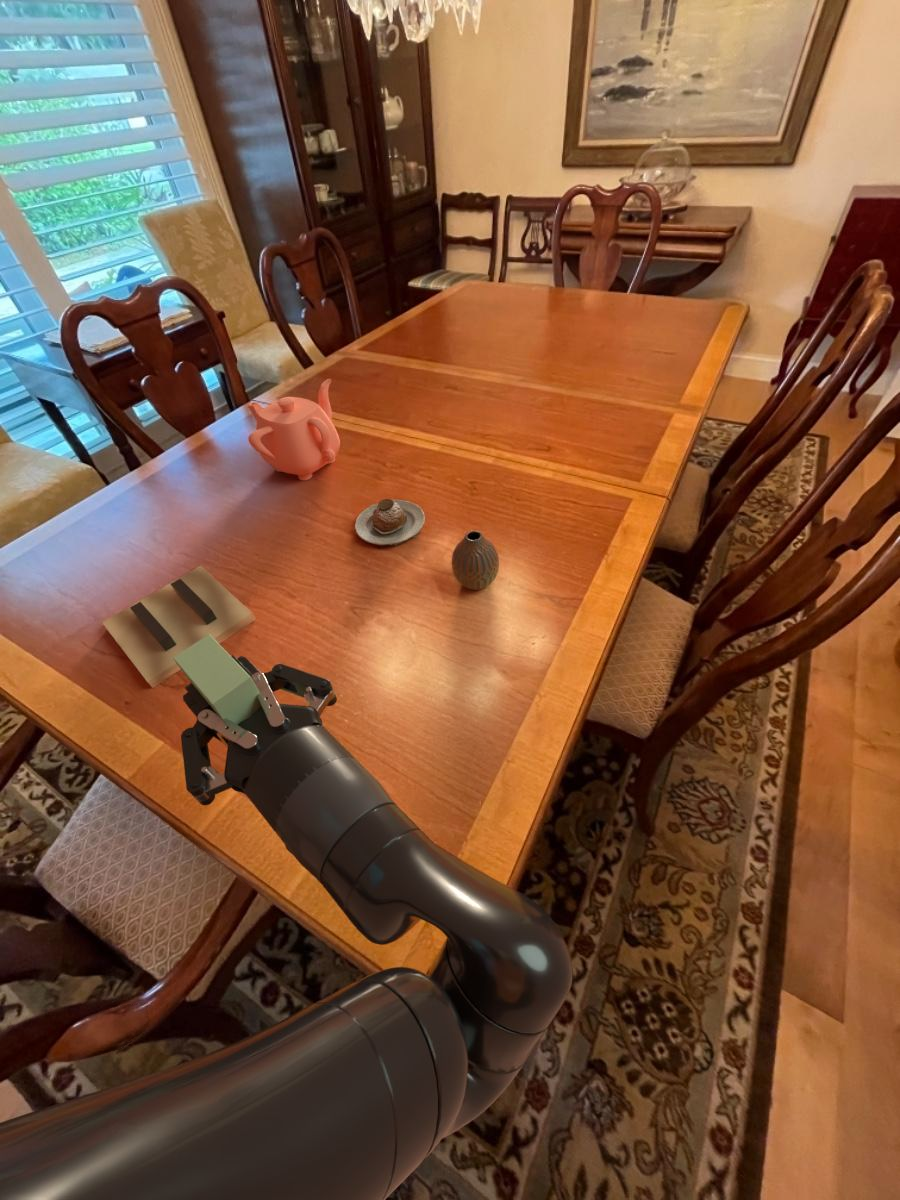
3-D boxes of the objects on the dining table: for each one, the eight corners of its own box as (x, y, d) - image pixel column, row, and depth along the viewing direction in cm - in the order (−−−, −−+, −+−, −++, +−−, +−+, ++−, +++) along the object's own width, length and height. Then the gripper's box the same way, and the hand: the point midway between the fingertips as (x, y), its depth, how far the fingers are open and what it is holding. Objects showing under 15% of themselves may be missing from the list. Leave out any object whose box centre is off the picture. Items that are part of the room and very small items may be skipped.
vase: (500, 595, 78) (499, 550, 72) (453, 598, 78) (448, 553, 72) (498, 563, 83) (497, 518, 76) (453, 566, 83) (449, 521, 77)
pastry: (414, 498, 96) (411, 476, 93) (434, 537, 88) (431, 515, 85) (350, 515, 94) (344, 493, 91) (364, 557, 86) (358, 534, 83)
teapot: (265, 451, 112) (242, 388, 103) (344, 435, 114) (329, 373, 105) (265, 493, 101) (240, 427, 92) (354, 475, 103) (338, 409, 94)
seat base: (152, 688, 71) (139, 672, 69) (107, 629, 80) (94, 613, 77) (255, 619, 78) (247, 603, 76) (204, 572, 87) (195, 555, 84)
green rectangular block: (258, 769, 50) (211, 704, 42) (221, 725, 53) (172, 657, 45) (290, 744, 51) (250, 676, 43) (252, 702, 55) (209, 633, 47)
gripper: (387, 712, 40) (265, 605, 49) (219, 857, 34) (114, 703, 43) (400, 760, 46) (289, 655, 55) (258, 892, 39) (158, 749, 48)
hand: (212, 676), depth 49 cm, fingers closed on green rectangular block, 3 cm apart
